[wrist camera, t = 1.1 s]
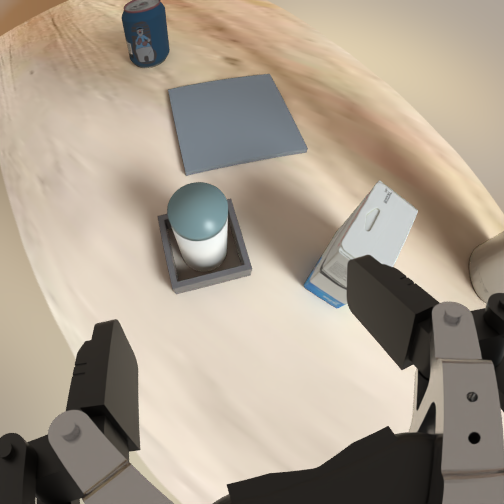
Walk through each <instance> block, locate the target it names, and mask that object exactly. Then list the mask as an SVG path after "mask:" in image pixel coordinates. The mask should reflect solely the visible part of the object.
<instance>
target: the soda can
mask: <svg viewBox="0 0 504 504" xmlns="http://www.w3.org/2000/svg"><path fill="white" fill-rule="evenodd" d="M122 22H123V27H124V32H125V37H126V41H127V46H128V51H129V55H130V59H131V61H132V62H133V63H134V64H135V65H137V66H138V67H142V68H149V67H154V66H157V65H159V64H161V63H162V62H163V61H164V60H165V59H166V57H167V55H168V53H169V41H168V33H167V23H166V14H165V7H164V5H163V4H162V3H161V2H160V0H132V1H130V2H129V3H127V4H126V5H125V6H124V12H123V14H122Z"/></svg>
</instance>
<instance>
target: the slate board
mask: <svg viewBox="0 0 504 504" xmlns="http://www.w3.org/2000/svg"><path fill="white" fill-rule="evenodd" d="M168 92H169V97H170V102H171V107H172V112H173V117H174V122H175V127H176V131H177V136H178V141H179V145H180V150H181V154H182V159H183V163H184V168H185V172H186V176H187V175H191V174H195V173H200V172H204V171H209V170H213V169H218V168H223V167H228V166H232V165H237V164H243V163H248V162H253V161H258V160H264V159H269V158H275V157H281V156H287V155H293V154H299V153H305V152H307V149H308V148H307V146H306V144H305V142H304V140H303V138H302V136H301V134H300V132H299V130H298V128H297V126H296V124H295V122H294V120H293V118H292V116H291V114H290V112H289V110H288V108H287V106H286V104H285V102H284V100H283V98H282V96H281V94H280V92H279V90H278V88H277V87H276V85H275V83H274V81H273V79H272V77H271V76H270V74H264V75H254V76H246V77H238V78H230V79H223V80H217V81H211V82H205V83H199V84H193V85H188V86H183V87H178V88H173V89H169V90H168Z"/></svg>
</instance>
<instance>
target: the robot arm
mask: <svg viewBox="0 0 504 504" xmlns="http://www.w3.org/2000/svg"><path fill="white" fill-rule="evenodd" d="M469 271H470V278H471V281H472V285H473V287H474V289H475V291H476V293H477V295H478V296H479V297H480V298H481V299H482V300H483V301H484V302H485V303H487V305H486V308H484V309H479V310H474V311H470V310H469V309H468V308H466V307H465V306H463V305H461V304H459V303H456V302H442V303H439V302H438V301H437V300H435V299H434V298H433V297H432V296H431V295H429V294H428V293H427V292H426V291H424V290H423V289H422V288H421V287H419V286H418V285H417V284H416V283H415V284H414V282H413V281H412V280H411V279H409V278H406V275H404V274H403V273H402V272H400V271H399V270H398V269H396V268H394V267H391V266H388V265H386V264H381V263H380V262H379V261H377V260H376V259H375V258H374V257H372V256H371V255H364V256H361V257H358V258H354V259H351V260H349V261H348V264H347V303H348V306H349V308H350V310H351V312H352V313H353V314H354V315H355V317H356V318H357V319H358V320H359V321H360V322H361V323H362V325H363V326H364V327H365V328H366V329H367V330H368V331H369V333H370V334H371V335H372V336H373V337H374V338H375V339H376V341H377V342H378V343H379V344H380V345H381V346H382V348H383V349H384V350H385V351H386V352H387V353H388V355H389V356H390V357H391V358H392V359H393V360H394V362H395V363H396V364H397V365H398V366H399V367H400V369H401V370H403V369H405V368H407V367H409V366H411V365H413V364H414V365H415V367H416V368H417V369H416V372H415V383H414V402H413V415H412V422H411V426H410V429H409V433H399V434H394V433H393V432H392V430H391V429H390V428H389V426H387V427H385V428H383V429H381V430H379V431H377V432H375V433H373V434H371V435H369V436H367V437H365V438H362V439H360V440H358V441H356V442H354V443H352V444H351V445H349V446H348V447H347V448H345V449H344V450H343V451H341V452H340V453H338V454H337V455H336V456H334V457H333V458H331V459H330V460H328V461H327V462H325V463H324V464H322V465H321V466H319V467H317V468H314V469H307V470H299V471H291V472H280V473H269V474H266V475H262V476H258V477H255V478H251V479H247V480H243V481H239V482H235V483H231V484H227V488H228V491H229V494H228V495H226V496H224V497H222V498H221V499H219V500H217V501H216V502H214V503H213V504H504V440H503V427H502V417H501V409H502V410H503V412H504V231H503V232H502V233H500V234H498V235H497V236H495V237H493V238H491V239H490V240H488V241H486V242H485V243H483V244H481V245H480V246H478V247H477V248H475V249H474V251H473V252H472V254H471V257H470V263H469ZM500 408H501V409H500ZM137 450H140V436H139V409H138V365H137V361H136V357H135V355H134V352H133V350H132V348H131V346H130V344H129V342H128V340H127V338H126V336H125V334H124V331H123V329H122V327H121V325H120V323H119V321H118V320H116V319H115V320H110V321H106V322H101V323H97V324H95V326H94V330H93V335H92V339H91V340H90V341H85V343H84V344H83V345H82V347H81V348H80V350H79V351H78V353H77V357H76V362H75V367H74V371H73V377H72V381H71V385H70V390H69V396H68V401H67V407H66V412H64V413H62V414H60V415H58V416H57V417H56V418H55V419H54V420H53V422H52V423H51V425H50V427H49V431H48V435H45V436H43V437H40V438H38V439H35V440H32V441H30V442H26V441H25V440H24V439H23V438H22V437H21V436H20V435H18V434H16V433H8V434H5V435H4V436H2V437H1V438H0V504H35V497H36V498H37V504H80V500H79V499H80V498H82V500H83V502H84V503H85V504H174V503H173V502H172V501H170V500H169V499H168V498H167V497H166V496H165V495H163V494H162V493H161V492H160V491H159V490H158V489H157V488H156V487H154V486H153V485H152V484H151V483H150V482H149V481H148V480H147V479H146V478H145V477H144V476H143V475H141V474H140V472H139V471H138V470H137V469H136V468H135V467H133V465H131V463H129V451H137Z"/></svg>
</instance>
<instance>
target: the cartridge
mask: <svg viewBox="0 0 504 504" xmlns="http://www.w3.org/2000/svg"><path fill="white" fill-rule="evenodd" d="M167 213H168V218H169V221H170V224H171V227H172V229H173V232H174V235H175V238H176V240H177V243H178V246H179V248H180V251H181V254H182V256H183V259H184V261H185V262H186V264H187V265H188V266H189V267H191V268H192V269H194V270H197V271H202V272H206V271H211V270H214V269H216V268H217V267H219V266H220V265H221V264H222V262H223V261H224V259H225V257H226V253H227V227H228V203H227V200H226V197H225V196H224V194H223V193H222V192H221V191H220V190H219V189H218V188H217V187H215V186H213V185H211V184H208V183H203V182H196V183H190V184H187V185H185V186H183V187H181V188H180V189H178V190H177V191H176V192H175V193H174V194H173V196H172V197H171V199H170V201H169V204H168V208H167Z"/></svg>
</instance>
